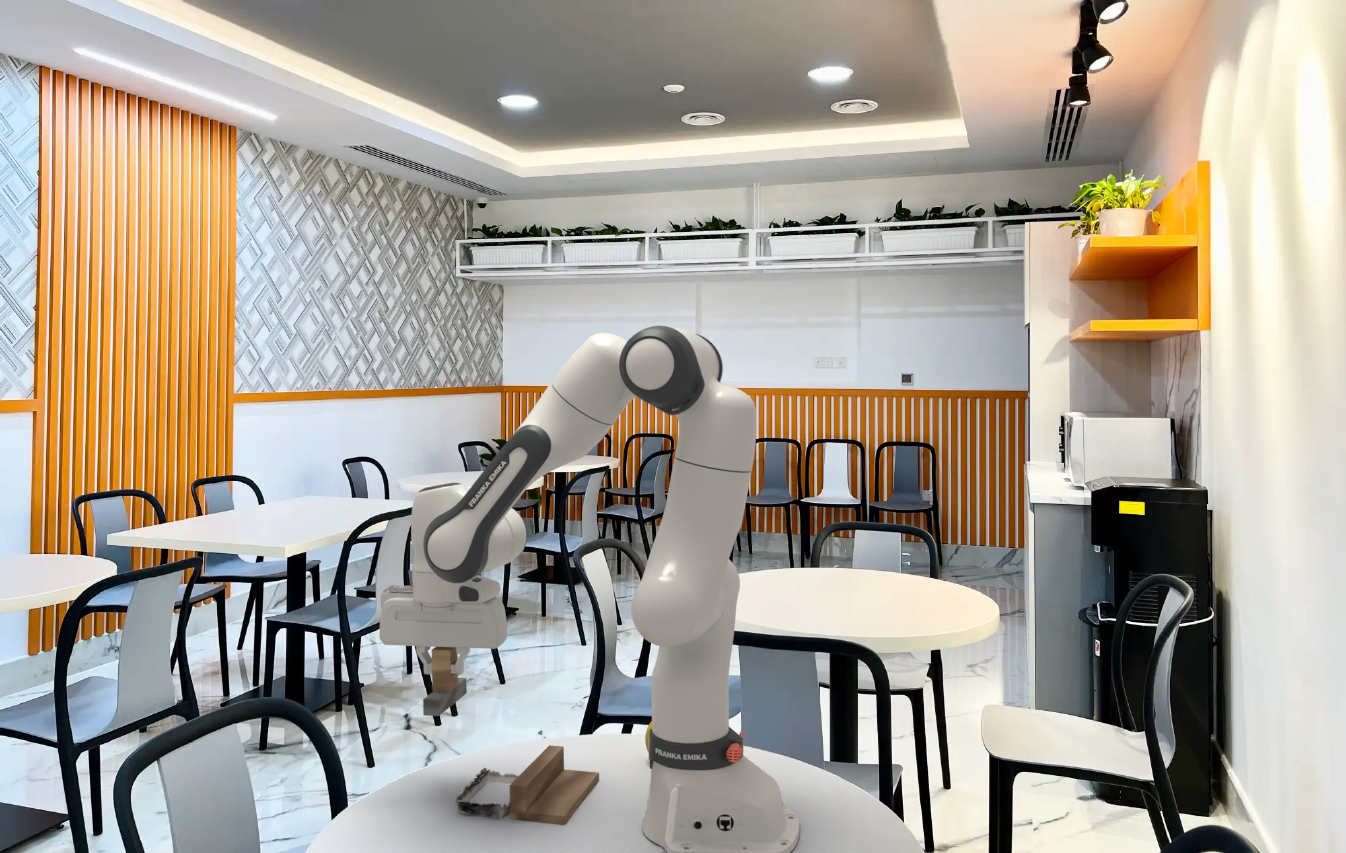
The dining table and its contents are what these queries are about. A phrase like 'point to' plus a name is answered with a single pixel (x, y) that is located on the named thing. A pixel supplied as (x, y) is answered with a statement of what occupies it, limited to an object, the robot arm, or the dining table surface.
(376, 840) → the dining table surface
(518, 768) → the dining table surface
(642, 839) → the dining table surface
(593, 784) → the stop bar
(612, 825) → the dining table surface
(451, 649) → the oak pusher
